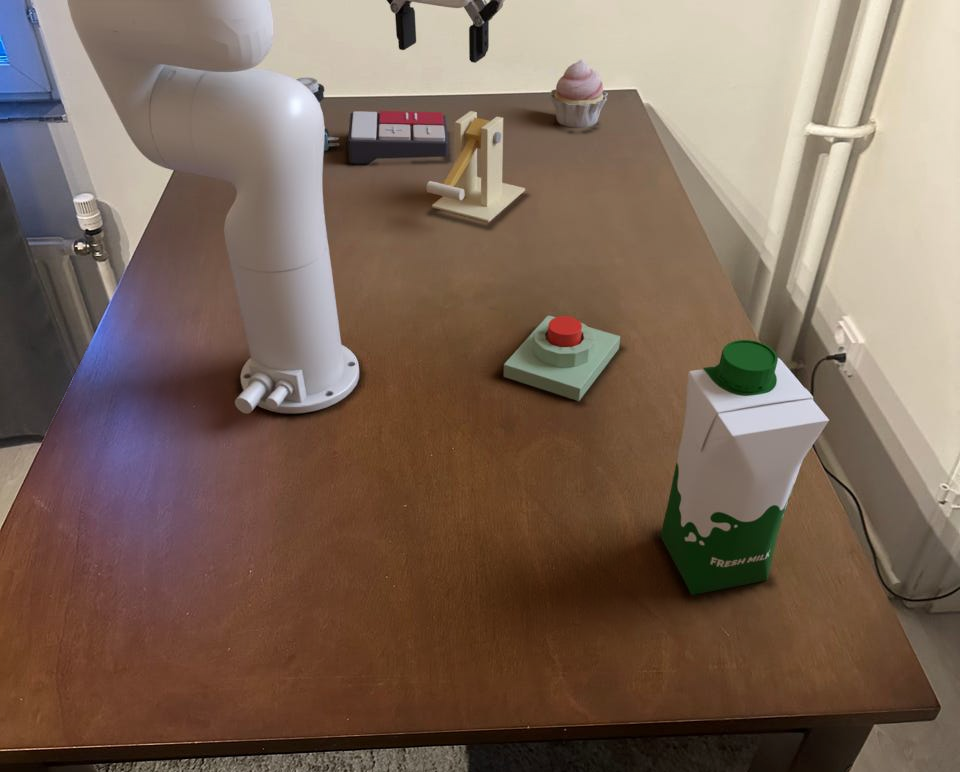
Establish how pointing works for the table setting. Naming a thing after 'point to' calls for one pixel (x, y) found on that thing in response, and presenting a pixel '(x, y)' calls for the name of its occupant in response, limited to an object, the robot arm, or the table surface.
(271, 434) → the table surface
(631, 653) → the table surface
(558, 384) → the switch box
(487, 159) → the switch bracket
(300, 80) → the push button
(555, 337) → the red button
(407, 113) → the calculator
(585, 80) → the cupcake
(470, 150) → the switch lever
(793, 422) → the milk carton
